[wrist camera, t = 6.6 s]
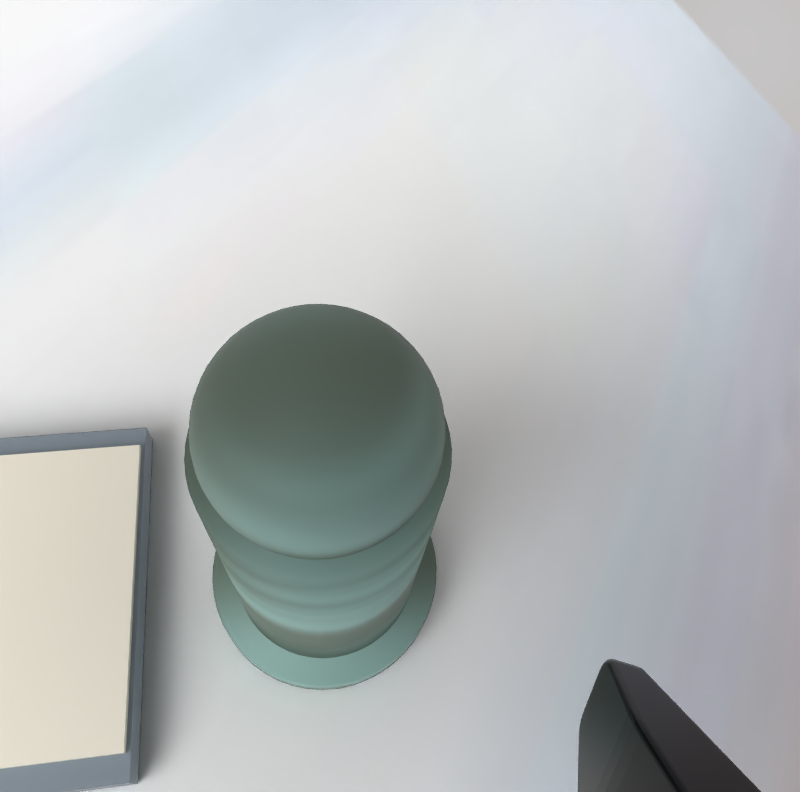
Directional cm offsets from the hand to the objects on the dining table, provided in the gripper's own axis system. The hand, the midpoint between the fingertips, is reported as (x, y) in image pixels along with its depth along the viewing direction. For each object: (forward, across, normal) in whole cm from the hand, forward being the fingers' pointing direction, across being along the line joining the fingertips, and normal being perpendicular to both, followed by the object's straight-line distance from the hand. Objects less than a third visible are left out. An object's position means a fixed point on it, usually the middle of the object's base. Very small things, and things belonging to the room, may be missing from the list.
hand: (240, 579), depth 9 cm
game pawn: (+9, 0, +5) cm, 10 cm away
